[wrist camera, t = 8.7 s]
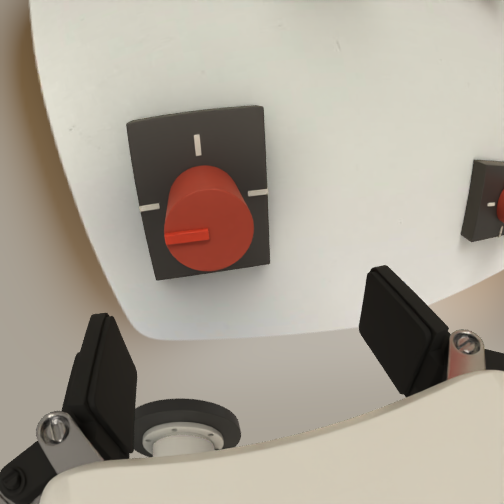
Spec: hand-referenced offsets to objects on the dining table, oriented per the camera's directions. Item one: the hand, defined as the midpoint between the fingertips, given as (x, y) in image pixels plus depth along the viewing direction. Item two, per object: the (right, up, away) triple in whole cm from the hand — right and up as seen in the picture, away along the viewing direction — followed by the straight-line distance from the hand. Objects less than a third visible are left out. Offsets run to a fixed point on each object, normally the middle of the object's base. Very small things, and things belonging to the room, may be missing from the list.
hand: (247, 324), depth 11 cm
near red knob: (-3, +6, +10) cm, 12 cm away
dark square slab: (+30, +9, +19) cm, 36 cm away
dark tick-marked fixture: (-4, +7, +12) cm, 15 cm away
